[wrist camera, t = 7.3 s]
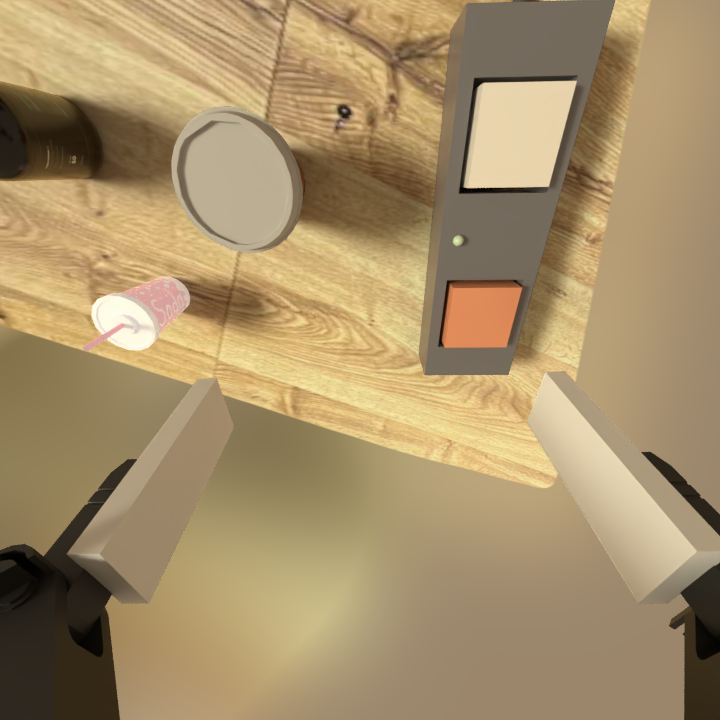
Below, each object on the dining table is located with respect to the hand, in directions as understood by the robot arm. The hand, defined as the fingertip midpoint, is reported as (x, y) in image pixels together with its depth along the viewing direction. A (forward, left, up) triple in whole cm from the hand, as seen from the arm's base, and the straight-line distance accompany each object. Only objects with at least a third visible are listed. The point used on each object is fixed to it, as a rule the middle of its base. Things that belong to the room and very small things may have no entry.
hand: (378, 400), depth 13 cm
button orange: (+6, +12, -26) cm, 29 cm away
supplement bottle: (-11, -30, -27) cm, 42 cm away
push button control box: (-4, +12, -27) cm, 30 cm away
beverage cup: (+5, -25, -27) cm, 37 cm away
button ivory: (-10, +12, -26) cm, 30 cm away
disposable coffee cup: (-7, -10, -27) cm, 30 cm away
